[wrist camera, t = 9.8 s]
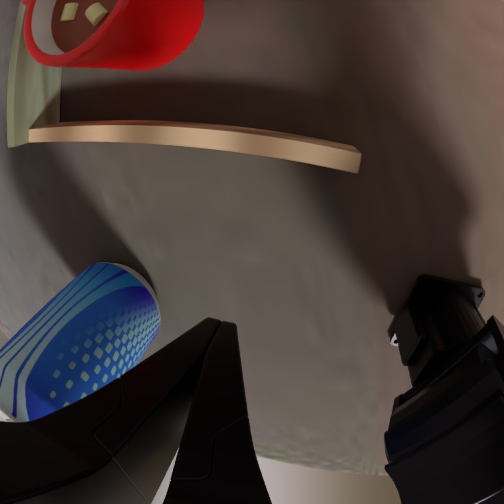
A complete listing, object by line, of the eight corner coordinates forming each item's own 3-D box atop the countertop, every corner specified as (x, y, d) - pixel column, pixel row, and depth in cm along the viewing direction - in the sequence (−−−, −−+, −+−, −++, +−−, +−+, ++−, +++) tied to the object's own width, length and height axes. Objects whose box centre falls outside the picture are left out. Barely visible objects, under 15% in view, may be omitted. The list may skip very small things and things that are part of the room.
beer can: (82, 248, 24) (-47, 362, 10) (162, 263, 23) (30, 429, 9) (99, 320, 28) (9, 434, 14) (171, 341, 27) (90, 487, 13)
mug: (93, -30, 13) (23, -51, 6) (224, -19, 13) (171, -75, 6) (58, 53, 16) (-18, 55, 9) (175, 84, 17) (96, 79, 10)
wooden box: (374, -72, 9) (385, -110, 4) (350, 161, 17) (362, 180, 12) (78, -47, 11) (39, -59, 7) (52, 134, 20) (7, 147, 15)
